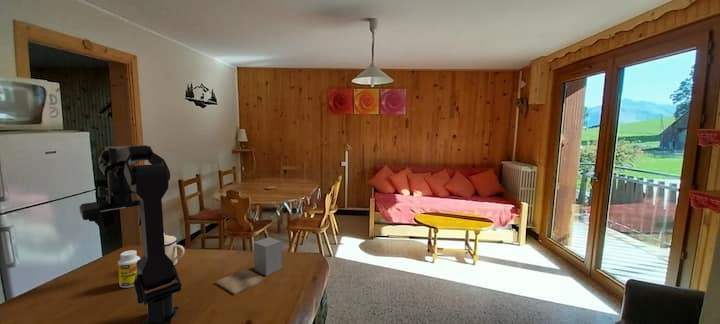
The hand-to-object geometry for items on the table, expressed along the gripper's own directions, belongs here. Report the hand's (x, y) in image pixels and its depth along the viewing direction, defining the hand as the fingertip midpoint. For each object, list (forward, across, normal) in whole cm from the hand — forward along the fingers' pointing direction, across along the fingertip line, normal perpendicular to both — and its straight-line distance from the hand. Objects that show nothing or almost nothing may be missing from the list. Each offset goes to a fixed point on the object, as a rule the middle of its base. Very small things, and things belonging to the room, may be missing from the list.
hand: (121, 229), depth 98 cm
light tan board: (+7, -23, +35) cm, 42 cm away
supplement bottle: (+13, 0, +12) cm, 18 cm away
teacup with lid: (+15, -11, +6) cm, 20 cm away
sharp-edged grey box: (+8, -34, +34) cm, 48 cm away
